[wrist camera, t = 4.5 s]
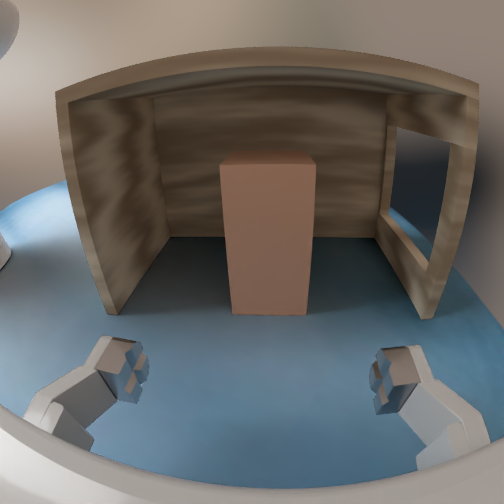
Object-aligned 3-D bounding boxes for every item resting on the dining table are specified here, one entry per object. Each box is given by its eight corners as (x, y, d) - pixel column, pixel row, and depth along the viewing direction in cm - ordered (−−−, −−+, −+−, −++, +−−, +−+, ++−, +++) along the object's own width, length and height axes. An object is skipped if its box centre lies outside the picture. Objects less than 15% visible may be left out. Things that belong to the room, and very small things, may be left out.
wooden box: (432, 318, 17) (479, 83, 9) (107, 313, 19) (55, 91, 11) (379, 234, 29) (391, 87, 21) (165, 233, 31) (147, 90, 24)
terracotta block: (306, 315, 19) (315, 164, 14) (232, 314, 19) (219, 165, 14) (301, 274, 23) (306, 150, 18) (240, 274, 24) (232, 151, 19)
